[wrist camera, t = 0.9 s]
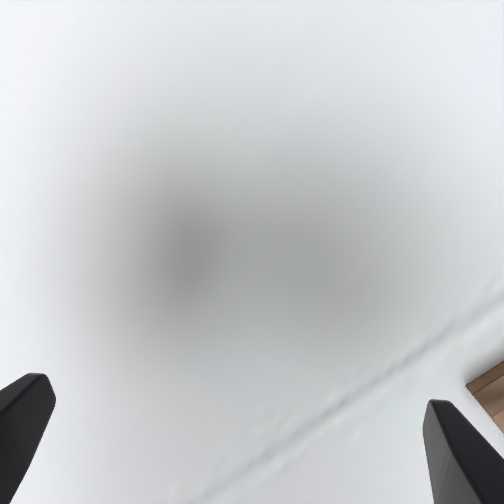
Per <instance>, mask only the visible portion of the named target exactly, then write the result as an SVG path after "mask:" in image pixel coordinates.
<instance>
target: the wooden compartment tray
mask: <svg viewBox="0 0 504 504" xmlns="http://www.w3.org/2000/svg"><path fill="white" fill-rule="evenodd" d="M466 387H467V389H468V390H469V391H470V392H471V393H472V395H473V396H474V397H475V398H476V400H477V401H478V402H479V403H480V405H481V406H482V407H483V408H484V409H485V411H486V412H487V413H488V414H489V416H490V417H491V418H492V419H493V421H494V422H495V423H496V424H497V425H498V427H499V428H500V429H501V430H502V432H503V433H504V361H503V362H502V363H500V364H499V365H497V366H496V367H494V368H493V369H491V370H490V371H488V372H486V373H485V374H483V375H482V376H480V377H479V378H477V379H476V380H474V381H473V382H471V383H470V384H468V385H466Z"/></svg>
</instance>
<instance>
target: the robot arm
mask: <svg viewBox="0 0 504 504" xmlns="http://www.w3.org/2000/svg"><path fill="white" fill-rule="evenodd" d="M55 403H56V396H55V393H54V391H53V388H52V386H51V383H50V381H49V378H48V377H47V375H45V374H42V373H28V374H26V375H24V376H23V377H21V378H19V379H18V380H16V381H15V382H13V383H11V384H10V385H8V386H7V387H5V388H3V389H2V390H0V504H10V502H11V500H12V498H13V496H14V495H15V493H16V491H17V489H18V487H19V485H20V483H21V482H22V480H23V478H24V476H25V474H26V472H27V470H28V468H29V466H30V464H31V461H32V459H33V457H34V455H35V452H36V450H37V448H38V445H39V443H40V440H41V438H42V436H43V433H44V431H45V429H46V426H47V424H48V422H49V419H50V417H51V414H52V412H53V410H54V407H55ZM423 438H424V444H425V450H426V456H427V462H428V468H429V475H430V481H431V487H432V493H433V499H434V504H504V459H503V458H502V457H501V456H500V454H499V453H498V452H497V451H496V450H495V449H494V448H493V447H492V446H491V445H490V444H489V443H488V441H487V440H486V439H485V438H484V437H483V436H482V435H481V434H480V433H479V432H478V431H477V430H476V428H475V427H474V426H473V425H472V424H471V423H470V422H469V421H468V420H467V419H466V418H465V417H464V415H463V414H462V413H461V412H460V411H459V410H458V409H457V408H456V407H455V406H454V405H453V404H452V403H451V402H450V401H447V400H435V399H432V400H429V402H428V404H427V409H426V413H425V418H424V422H423Z"/></svg>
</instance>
